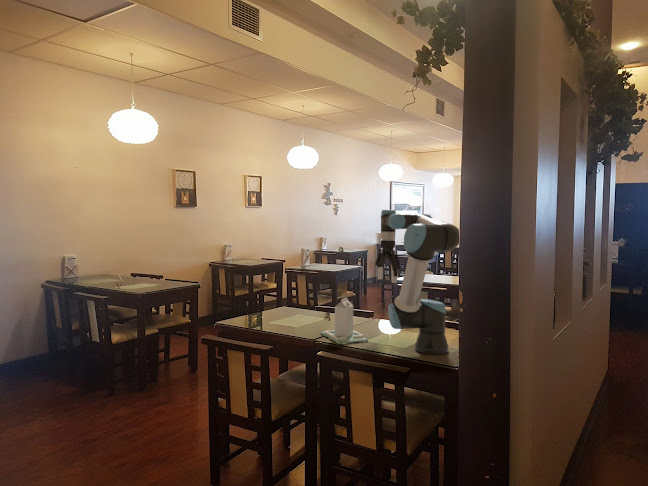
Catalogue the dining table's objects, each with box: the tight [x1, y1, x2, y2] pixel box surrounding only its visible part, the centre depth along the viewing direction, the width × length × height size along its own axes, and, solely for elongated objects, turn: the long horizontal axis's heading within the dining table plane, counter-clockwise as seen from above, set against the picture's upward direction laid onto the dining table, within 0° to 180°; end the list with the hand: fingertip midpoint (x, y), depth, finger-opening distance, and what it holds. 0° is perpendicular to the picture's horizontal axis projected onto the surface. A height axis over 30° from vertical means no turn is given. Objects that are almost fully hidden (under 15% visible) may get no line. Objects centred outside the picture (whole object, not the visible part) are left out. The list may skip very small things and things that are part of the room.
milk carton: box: [334, 297, 354, 337], centre depth 236 cm, size 7×7×19 cm
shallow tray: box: [320, 329, 369, 345], centre depth 237 cm, size 22×16×2 cm
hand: (387, 281), depth 240 cm, fingers open, 13 cm apart
